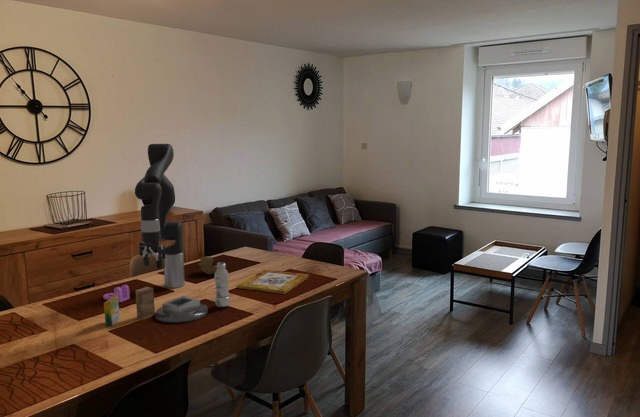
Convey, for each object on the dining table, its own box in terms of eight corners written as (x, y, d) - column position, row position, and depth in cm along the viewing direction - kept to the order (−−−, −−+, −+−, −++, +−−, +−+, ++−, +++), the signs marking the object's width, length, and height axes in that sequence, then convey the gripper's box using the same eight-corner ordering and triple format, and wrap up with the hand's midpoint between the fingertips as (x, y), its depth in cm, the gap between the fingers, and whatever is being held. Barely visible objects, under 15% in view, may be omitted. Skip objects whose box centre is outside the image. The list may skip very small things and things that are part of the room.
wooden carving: (223, 274, 273) (223, 257, 272) (217, 276, 269) (217, 259, 268) (202, 270, 282) (201, 253, 280) (196, 272, 278) (195, 255, 276)
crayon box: (113, 319, 208) (111, 293, 206) (120, 319, 208) (118, 293, 206) (105, 326, 201) (103, 298, 199) (112, 326, 201) (110, 298, 199)
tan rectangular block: (137, 317, 210) (135, 290, 208) (148, 313, 215) (147, 286, 213) (143, 319, 208) (141, 292, 206) (154, 315, 213) (153, 288, 211)
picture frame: (309, 274, 267) (284, 290, 239) (309, 278, 267) (284, 295, 240) (265, 269, 277) (236, 284, 249) (265, 273, 277) (236, 289, 250)
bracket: (129, 299, 234) (128, 284, 233) (120, 302, 230) (119, 288, 228) (110, 295, 240) (109, 281, 239) (100, 298, 235) (99, 284, 234)
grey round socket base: (144, 317, 211) (143, 304, 210) (183, 302, 229) (182, 290, 228) (180, 327, 199) (179, 314, 198) (218, 310, 218) (217, 298, 217)
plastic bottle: (232, 304, 225) (231, 262, 222) (225, 309, 219) (223, 265, 216) (220, 303, 227) (218, 261, 224) (212, 308, 221) (210, 264, 218)
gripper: (132, 229, 208) (135, 267, 210) (154, 233, 200) (156, 271, 203) (147, 227, 214) (149, 263, 217) (169, 230, 206) (171, 267, 209)
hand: (152, 267), depth 210 cm, fingers open, 8 cm apart
